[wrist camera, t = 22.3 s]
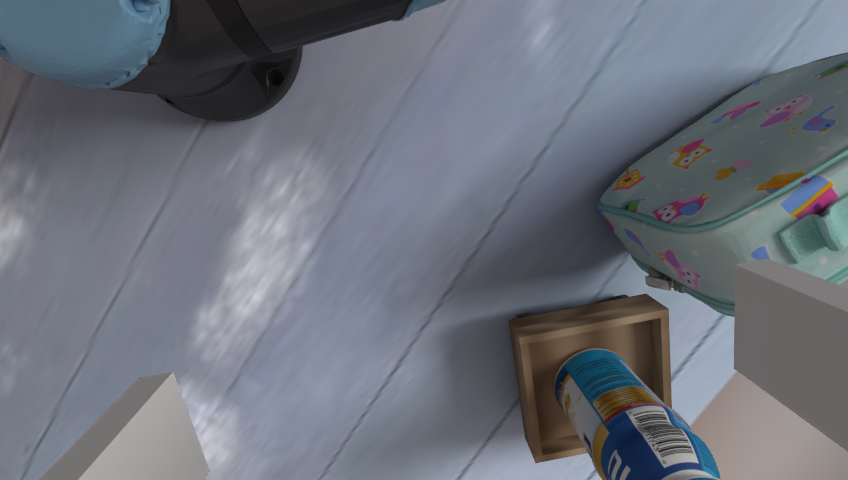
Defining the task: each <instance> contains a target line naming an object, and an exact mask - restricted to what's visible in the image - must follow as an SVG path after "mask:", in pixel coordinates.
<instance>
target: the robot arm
mask: <svg viewBox="0 0 848 480" xmlns="http://www.w3.org/2000/svg"><path fill="white" fill-rule="evenodd" d="M444 1H446V0H0V56H1V57H2V58H3V59H5V60H6V61H8V62H10V63H12V64H14V65H16V66H18V67H20V68H21V69H23V70H25V71H28V72H30V73H33V74H35V75H38V76H42V77H45V78H49V79H52V80H56V81H60V82H63V83H65V84H67V85H71V86H76V87H78V88H87V89H90V90H96V89H112V90H122V91H131V92H140V93H150V94H156V95H158V96H159V97H160V98H161V99H162V100H164V101H165V102H166V103H168V104H169V105H171V106H173V107H174V108H176V109H178V110H180V111H182V112H184V113H187V114H189V115H192V116H195V117H198V118H202V119H206V120H214V121H238V120H244V119H248V118H252V117H255V116H257V115H260V114H262V113H264V112H265V111H267V110H269V109H270V108H272V107H273V106H274V105H275V104H277V103H278V102H279V101H280V100H281V99H282V98H283V97H284V95H285V94H286V93H287V92H288V90H289V89H290V87H291V85H292V84H293V82H294V80H295V78H296V75H297V73H298V70H299V66H300V62H301V57H302V46H304V45H307V44H311V43H314V42H318V41H321V40H324V39H328V38H331V37H335V36H338V35H342V34H345V33H349V32H352V31H356V30H359V29H362V28H366V27H369V26H373V25H376V24H380V23H383V22H387V21H390V20H391V21H401V20H403V19H404V18H406V17H409V16H410V15H411V14H412V13H413V12H416V11H419V10H422V9H424V8H427V7H430V6H433V5H436V4H439V3H442V2H444ZM734 369H735V370H737V371H738V372H739V373H741V374H742V375H744V376H745V377H746V378H748V379H749V380H750V381H752V382H753V383H755V384H756V385H757V386H759V387H760V388H761V389H763V390H764V391H766V392H767V393H768V394H770V395H771V396H773V397H774V398H775V399H777V400H778V401H779V402H781V403H782V404H783V405H785V406H786V407H788V408H789V409H790V410H792V411H793V412H794V413H796V414H797V415H798V416H800V417H801V418H803V419H804V420H805V421H807V422H808V423H810V424H811V425H812V426H814V427H815V428H817V429H818V430H819V431H820V432H822V433H823V434H825V435H826V436H827V437H829V438H830V439H831V440H833V441H834V442H836V443H837V444H838V445H840V446H841V447H843V448H844V449H845V450H847V451H848V288H846V287H843V286H840V285H838V284H835V283H832V282H829V281H827V280H824V279H821V278H819V277H816V276H813V275H811V274H808V273H805V272H802V271H800V270H797V269H794V268H792V267H789V266H786V265H783V264H781V263H778V262H775V261H773V260H770V259H763V260H758V261H753V262H747V263H742V264H737V265H736V267H735V328H734ZM209 471H210V470H209V467H208V465H207V462H206V459H205V457H204V454H203V451H202V449H201V446H200V443H199V441H198V438H197V435H196V433H195V430H194V427H193V425H192V422H191V419H190V416H189V414H188V411H187V408H186V406H185V403H184V400H183V398H182V395H181V392H180V390H179V387H178V384H177V382H176V379H175V376H174V374H173V372H170V373H165V374H159V375H154V376H149V377H144V378H139V379H138V380H137V381H136V382H135V383H134V384H133V385H132V386H131V387H130V388H129V389H128V390H127V391H126V392H125V393H124V394H123V395H122V396H121V397H120V398H119V399H118V400H117V401H116V402H115V403H114V404H113V405H112V406H111V407H110V408H109V409H108V411H107V412H106V413H105V414H104V415H103V416H102V417H101V418H100V419H99V420H98V421H97V422H96V423H95V424H94V425H93V426H92V427H91V428H90V429H89V430H88V431H87V432H86V433H85V434H84V435H83V436H82V437H81V438H80V439H79V440H78V441H77V442H76V443H75V444H74V445H73V446H72V447H71V448H70V449H69V450H68V451H67V452H66V453H65V454H64V455H63V456H62V457H61V458H60V459H59V460H58V461H57V462H56V463H55V464H54V465H53V466H52V467H51V468H50V469H49V470H48V471H47V472H46V473H45V474H44V475H43V476H42V477H41V478H40V479H39V480H205V478H206V476H207V475H208V473H209Z"/></svg>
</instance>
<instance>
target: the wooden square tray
mask: <svg viewBox="0 0 848 480" xmlns="http://www.w3.org/2000/svg"><path fill="white" fill-rule="evenodd" d="M509 325H510V332H511V339H512V346H513V354H514V361H515V368H516V375H517V383H518V390H519V397H520V404H521V412H522V419H523V426H524V433H525V439H526V441H527V443H528V446H529V448H530V451H531V453H532V455H533V458H534V460H535V463H539V462H544V461H549V460H554V459H559V458H564V457H569V456H574V455H579V454H585V453H588V452H587V450H586V448H585V446H584V445H583V443H582V441H581V439H580V438H579V436H578V434H577V432H576V431H575V429H574V427H573V425H572V424H571V422H570V420H569V419H568V417H567V415H566V413H565V412H564V410H563V409H562V408H561V406H560V404H559V403H558V401H557V399H556V396H555V391H554V382H555V377H556V374H557V372H558V370H559V368H560V367H561V365H562V364H563V363H564V362H565V361H566V360H567V359H568V358H569V357H571V356H572V355H574V354H575V353H577V352H580V351H582V350H586V349H592V348H600V349H606V350H609V351H612V352H614V353H615V354H617V355H618V356H620V357H621V358H622V359H623V360H624V361H625V362H626V363H627V364H628V366H629V367H630V369H631V370H632V371H633V372H634V373H635V374H636V375H637V376H638V377H639V379H640V380H641V381H642V382H643V383H644V384H645V385H646V386H647V387H648V388H649V389H650V390H651V391H652V392H653V393H654V394H655V395H656V396H657V397H658V398H659V399H660V400H661V401H662V402H663V403H664V404H665V405H666V406H668V407H669V408H671V409H672V402H671V371H670V341H669V311H668V308H666V307H665V306H663V305H662V304H660V303H659V302H657V301H656V300H655V299H653V298H652V297H650V296H649V295H647V294H643V295H637V296H632V297H628V296H627V295H620V296H615V297H612V299H611V301H606V302H601V303H596V304H591V305H585V306H580V307H575V308H570V309H564V310H559V311H554V312H549V313H544V314H538V315H533V316H530V314H529V313H526V314H521V315H517V317H516V319H512V320H509Z"/></svg>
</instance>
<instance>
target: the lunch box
mask: <svg viewBox="0 0 848 480" xmlns="http://www.w3.org/2000/svg"><path fill="white" fill-rule="evenodd" d="M598 210H599V212H600V213H601V215H602V216H603V217H604V218H605V220H606V221H607V223H608V224H609V226H610V228H611V229H612V231H613V232H614V233H615V234H616V236H617V237H618V238H619V239H620V241H621V242H622V243H623V245H624V246H625V247H626V249H627V251H628V252H629V253H630V254H631V256H632V258H633V260H634V261H635V262H636V264H637V265H638V266H639V267H640V268H641V269H642V270H644V271H645V272H647V273H648V274H649V276H646V277H645V279H646V284H647V285H648V286H651V287H654V288H660V289H664V290H671V288H674V290H675V291H679V292H681V293H687V294H689V295H691V296H693V297H694V298H696V299H698V300H700V301H702V302H703V303H705V304H707V305H708V306H710V307H711V308H713V309H714V310H716V311H717V312H720V313H722V314H725V315H728V316H733V317H735V267H736V265H737V264H742V263H747V262H753V261H758V260H763V259H770V260H773V261H775V262H778V263H781V264H783V265H786V266H789V267H792V268H794V269H797V270H800V271H802V272H805V273H808V274H811V275H813V276H816V277H819V278H821V279H824V280H827V281H829V282H832V283H835V284H838V285H839V284H840V283H841V282H843V281H845V280H846V279H848V53H843V54H839V55H834V56H830V57H826V58H823V59H820V60H816V61H813V62H810V63H807V64H805V65H801V66H797V67H794V68H791V69H787V70H785V71H782V72H779V73H776V74H774V75H771V76H769V77H766V78H764V79H761V80H759V81H757V82H755V83H753V84H752V85H750V86H748V87H746V88H745V89H743V90H742V91H740V92H738V93H737V94H735V95H734V96H732V97H731V98H729V99H728V100H726V101H725V102H724V103H722V104H721V105H719V106H718V107H716V108H715V109H714V110H712V111H711V112H709V113H708V114H706V115H705V116H704V117H702V118H701V119H699V120H698V121H697V122H695V123H693V124H692V125H690V126H688V127H687V128H685V129H683V130H682V131H680V132H678V133H677V134H676V135H674V136H673V137H672V138H671V139H669V140H668V141H666V142H665V143H663V144H662V145H660V146H659V147H657V148H655V149H654V150H652V151H651V152H649V153H648V154H646V155H645V156H643V157H642V158H641V159H639V160H638V161H636V162H635V163H633V164H632V165H631V166H630V167H628V168H627V169H626V170H625V171H624V172H623V173H622V174H621V175H620V176H619V177H618V178H617V179H616V180H615V181H614V182H613V183H612V184H611V185H610V186H609V187H608V188H607V190H606V191H605V192H604V193H603V195H602V196H601V198H600V200H599V202H598ZM670 287H671V288H670Z"/></svg>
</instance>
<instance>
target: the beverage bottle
mask: <svg viewBox="0 0 848 480" xmlns="http://www.w3.org/2000/svg"><path fill="white" fill-rule="evenodd" d="M554 391H555V396H556V399H557V401H558V403H559V404H560V406H561V408H562V409H563V410H564V412H565V413H566V415H567V417H568V419H569V420H570V422H571V424H572V425H573V427H574V429H575V431H576V432H577V434H578V436H579V438H580V439H581V441H582V443H583V445H584V446H585V448H586V450H587V452H588V453H589V455H590V457H591V458H592V462H593V465H594V467H595V469H596V471H597V473H598V474H599V476H600V477H601V478H602V480H720V475H719V471H718V468H717V465H716V462H715V460H714V458H713V456H712V454H711V452H710V450H709V449H708V447H707V446H706V444H705V443H704V442H703V441H702V440H701V439H700V438H699V437H697V436H696V435H695V434H693V433H692V431H691V429H690V427H689V426H688V424H687V423H686V422H685V421H684V419H683V418H682V417H681V416H680V415H679V414H678V413H677V412H675V411H674V410H673V409H671V408H669V407H668V406H666V405H665V404H664V403H663V402H662V401H661V400H660V399H659V398H658V397H657V396H656V395H655V394H654V393H653V392H652V391H651V390H650V389H649V388H648V387H647V386H646V385H645V384H644V383H643V382H642V381H641V380H640V379H639V377H638V376H637V375H636V374H635V373H634V372H633V371H632V370H631V369H630V367H629V366H628V364H627V363H626V362H625V361H624V360H623V359H622V358H621V357H620V356H618V355H617V354H615V353H614V352H612V351H609V350H606V349H600V348H592V349H586V350H582V351H580V352H577V353H575V354H574V355H572V356H571V357H569V358H568V359H567V360H566V361H565V362H564V363H563V364H562V365H561V367H560V368H559V370H558V372H557V374H556V377H555V382H554Z"/></svg>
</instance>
